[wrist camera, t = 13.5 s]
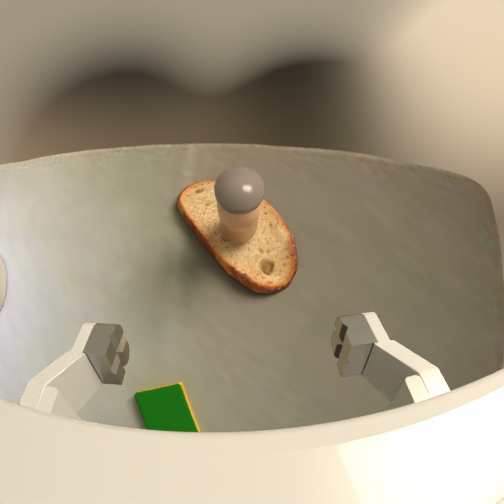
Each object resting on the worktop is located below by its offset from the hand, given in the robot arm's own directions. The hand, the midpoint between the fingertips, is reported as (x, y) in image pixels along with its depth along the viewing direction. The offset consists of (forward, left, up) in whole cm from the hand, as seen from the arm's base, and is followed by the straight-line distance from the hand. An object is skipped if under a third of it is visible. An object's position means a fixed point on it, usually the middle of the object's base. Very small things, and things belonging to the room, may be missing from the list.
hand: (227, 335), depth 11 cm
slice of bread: (+4, +14, -32) cm, 35 cm away
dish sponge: (-13, -12, -32) cm, 37 cm away
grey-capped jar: (+5, +14, -29) cm, 32 cm away
